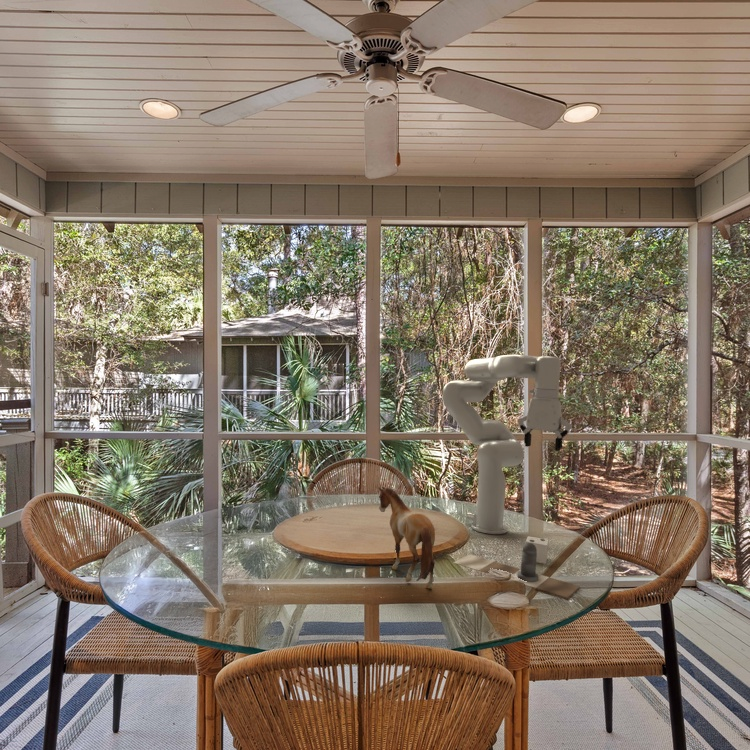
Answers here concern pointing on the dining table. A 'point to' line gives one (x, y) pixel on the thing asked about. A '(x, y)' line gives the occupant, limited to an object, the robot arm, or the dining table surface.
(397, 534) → the horse figurine
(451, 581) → the dining table surface
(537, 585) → the game board
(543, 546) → the die
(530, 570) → the pawn
